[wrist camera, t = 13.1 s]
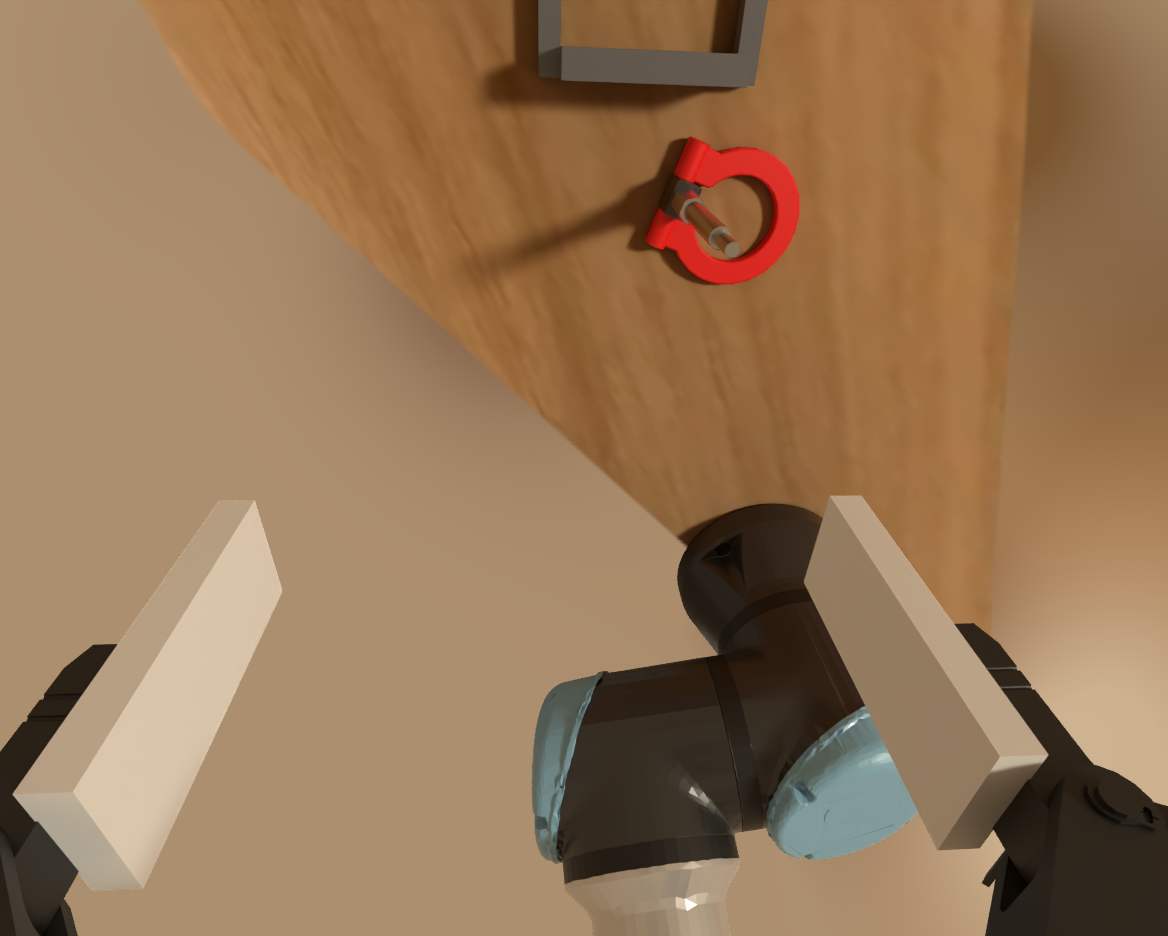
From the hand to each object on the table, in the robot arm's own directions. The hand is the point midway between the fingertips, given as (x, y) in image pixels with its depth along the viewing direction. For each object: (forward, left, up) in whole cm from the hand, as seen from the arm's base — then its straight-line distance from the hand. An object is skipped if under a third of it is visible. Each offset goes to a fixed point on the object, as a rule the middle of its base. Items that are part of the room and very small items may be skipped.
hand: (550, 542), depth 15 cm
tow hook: (+1, -12, -32) cm, 34 cm away
